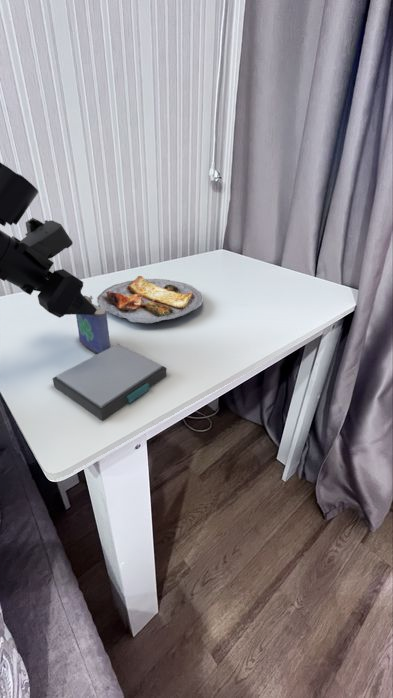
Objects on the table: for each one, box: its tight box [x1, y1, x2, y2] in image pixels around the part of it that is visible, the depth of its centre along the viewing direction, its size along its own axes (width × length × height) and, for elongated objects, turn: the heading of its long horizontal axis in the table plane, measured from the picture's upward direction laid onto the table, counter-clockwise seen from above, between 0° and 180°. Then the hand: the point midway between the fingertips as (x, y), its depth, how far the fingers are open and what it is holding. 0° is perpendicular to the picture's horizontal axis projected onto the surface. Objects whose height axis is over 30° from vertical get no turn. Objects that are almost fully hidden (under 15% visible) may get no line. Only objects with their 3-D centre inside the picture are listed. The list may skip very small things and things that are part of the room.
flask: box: [75, 295, 112, 355], centre depth 62 cm, size 9×3×11 cm, turn 46°
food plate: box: [96, 275, 204, 324], centre depth 81 cm, size 25×23×4 cm
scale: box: [52, 343, 167, 422], centre depth 55 cm, size 14×12×2 cm
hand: (82, 302), depth 59 cm, fingers open, 9 cm apart
